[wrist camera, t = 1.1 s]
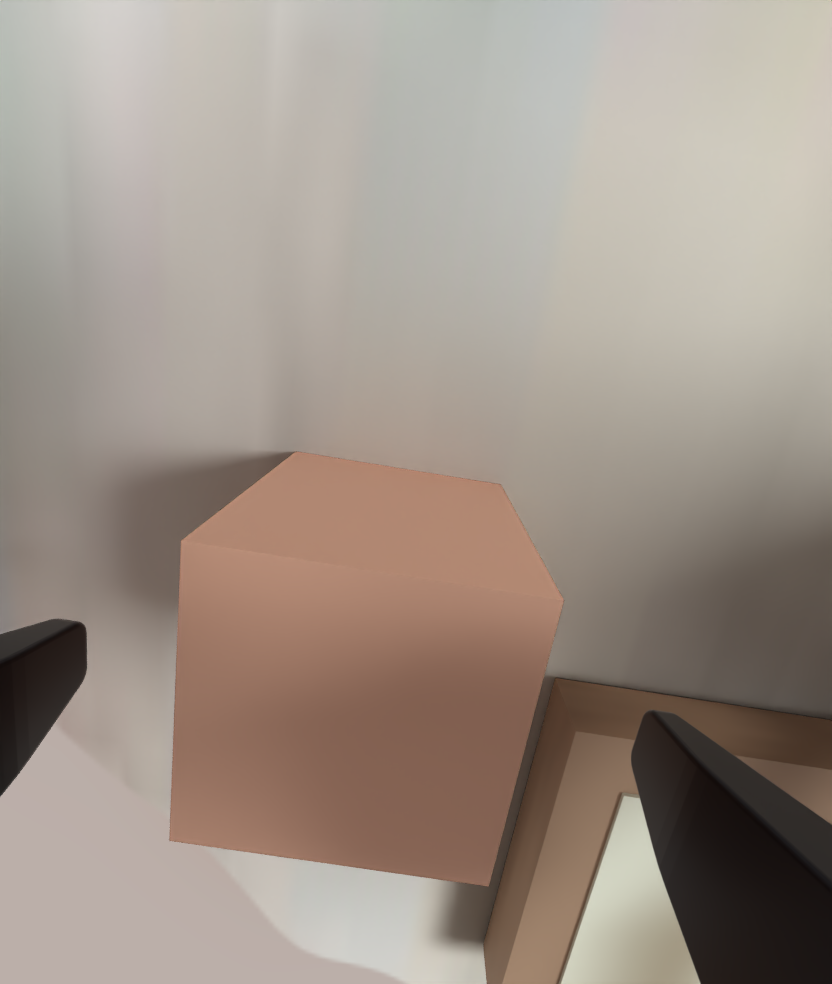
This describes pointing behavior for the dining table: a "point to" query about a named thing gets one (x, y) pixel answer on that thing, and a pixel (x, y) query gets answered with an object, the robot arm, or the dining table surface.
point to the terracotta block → (358, 669)
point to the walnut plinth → (619, 836)
